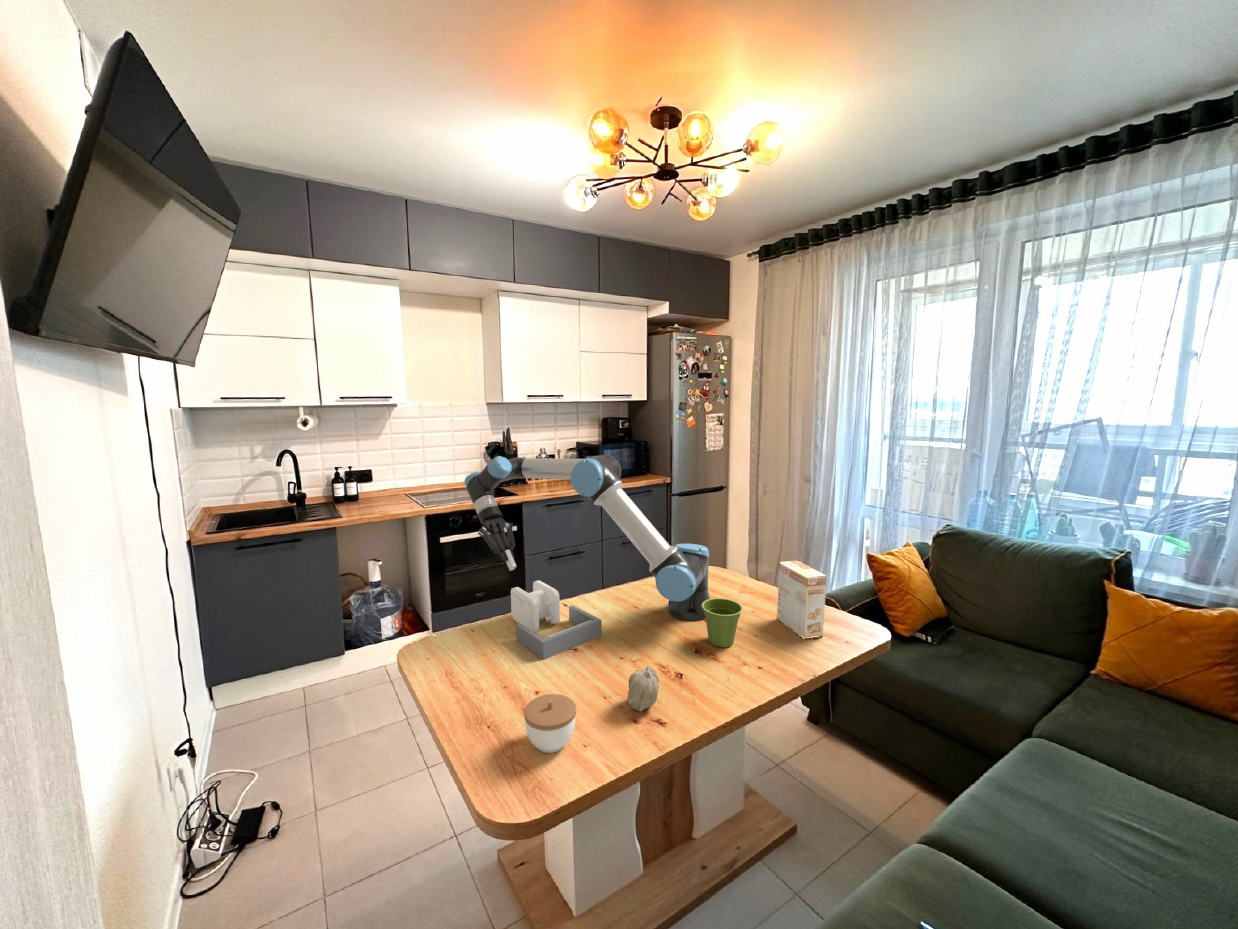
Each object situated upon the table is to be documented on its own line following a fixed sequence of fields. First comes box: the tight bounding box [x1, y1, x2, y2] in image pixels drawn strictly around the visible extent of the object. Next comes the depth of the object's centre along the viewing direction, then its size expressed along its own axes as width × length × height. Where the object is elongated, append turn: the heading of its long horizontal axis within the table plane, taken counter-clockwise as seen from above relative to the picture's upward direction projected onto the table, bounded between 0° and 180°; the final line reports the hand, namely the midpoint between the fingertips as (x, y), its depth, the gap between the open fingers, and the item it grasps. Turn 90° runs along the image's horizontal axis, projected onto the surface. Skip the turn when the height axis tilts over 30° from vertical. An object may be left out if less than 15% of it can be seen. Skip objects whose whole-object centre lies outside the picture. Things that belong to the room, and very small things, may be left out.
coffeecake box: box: [776, 560, 827, 638], centre depth 154 cm, size 15×7×20 cm, turn 14°
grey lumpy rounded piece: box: [627, 665, 660, 712], centre depth 116 cm, size 9×8×10 cm
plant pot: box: [702, 597, 744, 648], centre depth 146 cm, size 12×12×11 cm
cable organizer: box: [510, 579, 561, 633], centre depth 158 cm, size 15×11×12 cm
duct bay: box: [515, 604, 603, 660], centre depth 149 cm, size 14×21×5 cm
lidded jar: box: [523, 693, 577, 754], centre depth 103 cm, size 11×11×9 cm
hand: (513, 568), depth 166 cm, fingers closed
